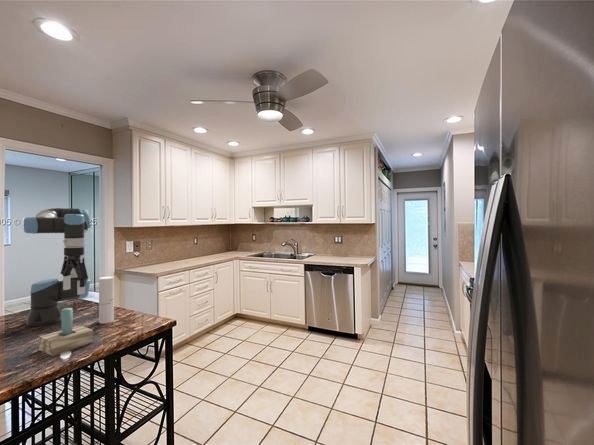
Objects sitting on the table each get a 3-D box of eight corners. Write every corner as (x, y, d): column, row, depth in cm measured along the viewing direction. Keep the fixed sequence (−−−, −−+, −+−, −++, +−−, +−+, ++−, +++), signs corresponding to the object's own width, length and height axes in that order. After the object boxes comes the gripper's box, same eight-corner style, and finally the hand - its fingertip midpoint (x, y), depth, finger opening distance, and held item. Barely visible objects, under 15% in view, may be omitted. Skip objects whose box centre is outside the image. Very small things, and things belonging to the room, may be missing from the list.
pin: (59, 340, 134) (59, 309, 133) (69, 336, 137) (69, 307, 137) (64, 341, 132) (64, 311, 131) (74, 338, 135) (74, 308, 135)
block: (39, 349, 130) (39, 336, 130) (79, 337, 144) (79, 325, 144) (52, 356, 125) (52, 342, 125) (93, 342, 139) (93, 329, 139)
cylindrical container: (116, 320, 169) (117, 277, 169) (104, 324, 162) (105, 279, 162) (107, 318, 171) (108, 276, 171) (95, 322, 165) (96, 278, 164)
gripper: (52, 245, 140) (51, 289, 140) (78, 249, 128) (77, 297, 128) (70, 244, 146) (70, 286, 147) (97, 248, 134) (96, 294, 135)
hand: (73, 291), depth 137 cm, fingers open, 13 cm apart
